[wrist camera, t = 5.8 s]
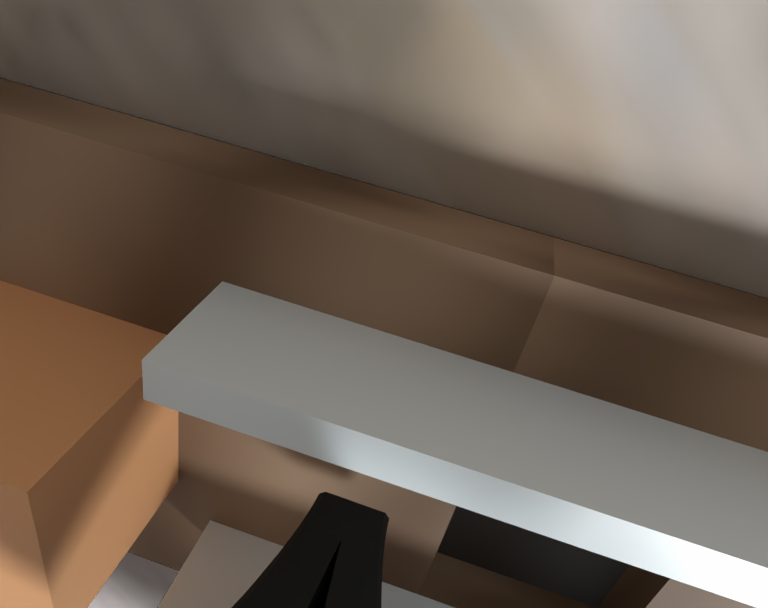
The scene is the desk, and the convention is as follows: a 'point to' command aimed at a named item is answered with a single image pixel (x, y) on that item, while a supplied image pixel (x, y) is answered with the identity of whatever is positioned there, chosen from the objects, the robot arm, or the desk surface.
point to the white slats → (457, 447)
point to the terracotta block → (74, 448)
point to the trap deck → (375, 310)
